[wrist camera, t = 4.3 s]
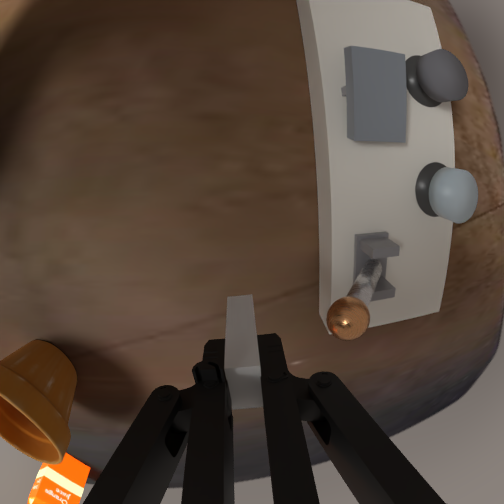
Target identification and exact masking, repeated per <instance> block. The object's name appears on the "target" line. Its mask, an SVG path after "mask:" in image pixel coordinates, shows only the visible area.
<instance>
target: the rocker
mask: <svg viewBox="0 0 504 504" xmlns="http://www.w3.org/2000/svg"><path fill="white" fill-rule="evenodd" d="M344 59H345V76H346V101H347V138H349V139H351V140H353V141H377V142H399V143H405V142H406V115H407V88H406V62H405V54H401V53H396V52H391V51H385V50H379V49H373V48H366V47H358V46H348V47H345V48H344Z"/></svg>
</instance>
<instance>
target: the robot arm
mask: <svg viewBox="0 0 504 504" xmlns="http://www.w3.org/2000/svg"><path fill="white" fill-rule="evenodd" d="M192 373H193V376H194V380H195V383H196V384H195V385H194V386H192V387H190V388H187V389H183V390H178V389H177V388H176V387H174V386H171V385H164V386H160V387H158V388H156V389H155V390H154V391H153V392H152V393H151V395H150V396H149V398H148V399H147V401H146V403H145V404H144V406H143V407H142V409H141V411H140V412H139V414H138V415H137V417H136V419H135V420H134V422H133V423H132V425H131V427H130V428H129V430H128V431H127V433H126V435H125V436H124V438H123V439H122V441H121V443H120V444H119V446H118V447H117V449H116V451H115V452H114V454H113V455H112V457H111V459H110V460H109V462H108V463H107V465H106V467H105V468H104V470H103V472H102V473H101V475H100V476H99V478H98V480H97V481H96V483H95V485H94V486H93V488H92V489H91V491H90V493H89V494H88V496H87V498H86V499H85V501H84V503H83V504H160V503H161V501H162V499H163V496H164V494H165V492H166V490H167V488H168V485H169V483H170V481H171V479H172V476H173V474H174V472H175V470H176V468H177V465H178V463H179V461H180V459H181V456H182V454H183V452H184V450H185V447H186V445H187V443H188V445H187V454H186V463H185V472H184V481H183V492H182V501H181V504H234V458H233V416H232V409H245V408H257V407H263V408H264V418H265V427H266V436H267V446H268V455H269V464H270V473H271V482H272V492H273V500H274V504H319V499H318V494H317V490H316V485H315V481H314V476H313V471H312V467H311V462H310V458H309V453H308V449H307V444H306V440H305V435H304V431H303V426H302V422H301V420H303V421H307V422H308V424H309V426H310V428H311V429H312V431H313V432H314V434H315V436H316V437H317V439H318V440H319V442H320V444H321V445H322V447H323V448H324V450H325V452H326V453H327V455H328V456H329V458H330V460H331V461H332V463H333V464H334V466H335V467H336V469H337V470H338V472H339V473H340V475H341V477H342V478H343V480H344V481H345V483H346V484H347V486H348V487H349V489H350V490H351V492H352V493H353V495H354V496H355V498H356V499H357V501H358V502H359V504H446V503H445V502H444V501H443V500H442V499H441V498H440V497H439V496H438V494H437V493H436V492H435V491H434V490H433V489H432V487H431V486H430V485H429V484H428V483H427V482H426V480H424V478H423V477H422V476H421V475H420V474H419V472H418V471H417V470H416V469H415V468H414V467H413V465H412V464H411V463H410V462H409V461H408V460H407V458H406V457H405V456H404V455H403V454H402V453H401V451H400V450H399V449H398V448H397V447H396V446H395V445H394V443H393V442H392V441H391V440H390V439H389V437H388V436H387V435H386V434H385V433H384V431H383V430H382V429H381V428H380V427H379V426H378V424H377V423H376V422H375V421H374V420H373V418H372V417H371V416H370V415H369V414H368V413H367V411H366V410H365V409H364V408H363V407H362V405H361V404H360V403H359V402H358V401H357V399H356V398H355V397H354V396H353V395H352V393H351V392H350V391H349V390H348V389H347V387H346V386H345V385H344V384H343V383H342V381H341V380H340V379H339V378H338V377H337V376H336V375H335V374H333V373H330V372H318V373H315V374H313V375H312V376H311V377H310V378H309V379H304V378H298V377H295V376H293V375H292V374H291V373H290V372H289V371H288V368H287V364H286V360H285V355H284V351H283V347H282V342H281V338H280V337H279V336H278V335H277V334H276V333H273V334H264V335H257V332H256V324H255V315H254V306H253V297H252V295H242V296H231V297H228V299H227V317H226V337H225V339H214V340H209V341H208V342H207V343H206V345H205V346H204V353H203V360H202V361H201V362H199V363H197V364H196V365H195V366H194V367H193V369H192Z"/></svg>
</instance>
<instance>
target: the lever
mask: <svg viewBox="0 0 504 504" xmlns="http://www.w3.org/2000/svg"><path fill="white" fill-rule="evenodd" d="M381 272H382V265H381V263H380V262H379V261H378V260H376V259H369V260H367V261H366V262H365V264H364V265H363V267H362V269H361V271H360V273H359V275H358V276H357V278H356V280H355V282H354V283H353V285H352V287H351V289H350V290H349V292H348V294H347V296H346V297H342V298H340V299H338V300H336V301H335V302H334V303H333V304H332V305H331V306H330V308H329V310H328V313H327V318H326V321H327V326H328V329H329V330H330V332H331V333H332V334H333V335H334V336H335V337H336V338H338V339H340V340H345V341H350V340H354V339H357V338H359V337H360V336H362V335H363V334H364V333H365V331H366V330H367V328H368V326H369V323H370V312H369V309H368V305H369V303H370V300H371V298H372V296H373V293H374V290H375V288H376V285H377V283H378V280H379V278H380V275H381Z"/></svg>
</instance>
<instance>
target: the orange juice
mask: <svg viewBox="0 0 504 504" xmlns="http://www.w3.org/2000/svg"><path fill="white" fill-rule="evenodd" d="M89 470H90V467H88V466H86V465H85V464H83V463H81V462H80V461H78V460H76V459H75V458H73V457H72V456H70V455H69V454H67V453H65V456H64V458H63V461H62V462H61V463H60V464H56V465H51V464H46V463H43V464H42V466H41V468H40V470H39V473H38V475H37V477H36V480H35V483H34V485H33V488H32V490H31V493H30V495H29V499H28V504H79V502H80V498H81V496H82V493H83V489H84V486H85V483H86V480H87V476H88V473H89Z"/></svg>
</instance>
